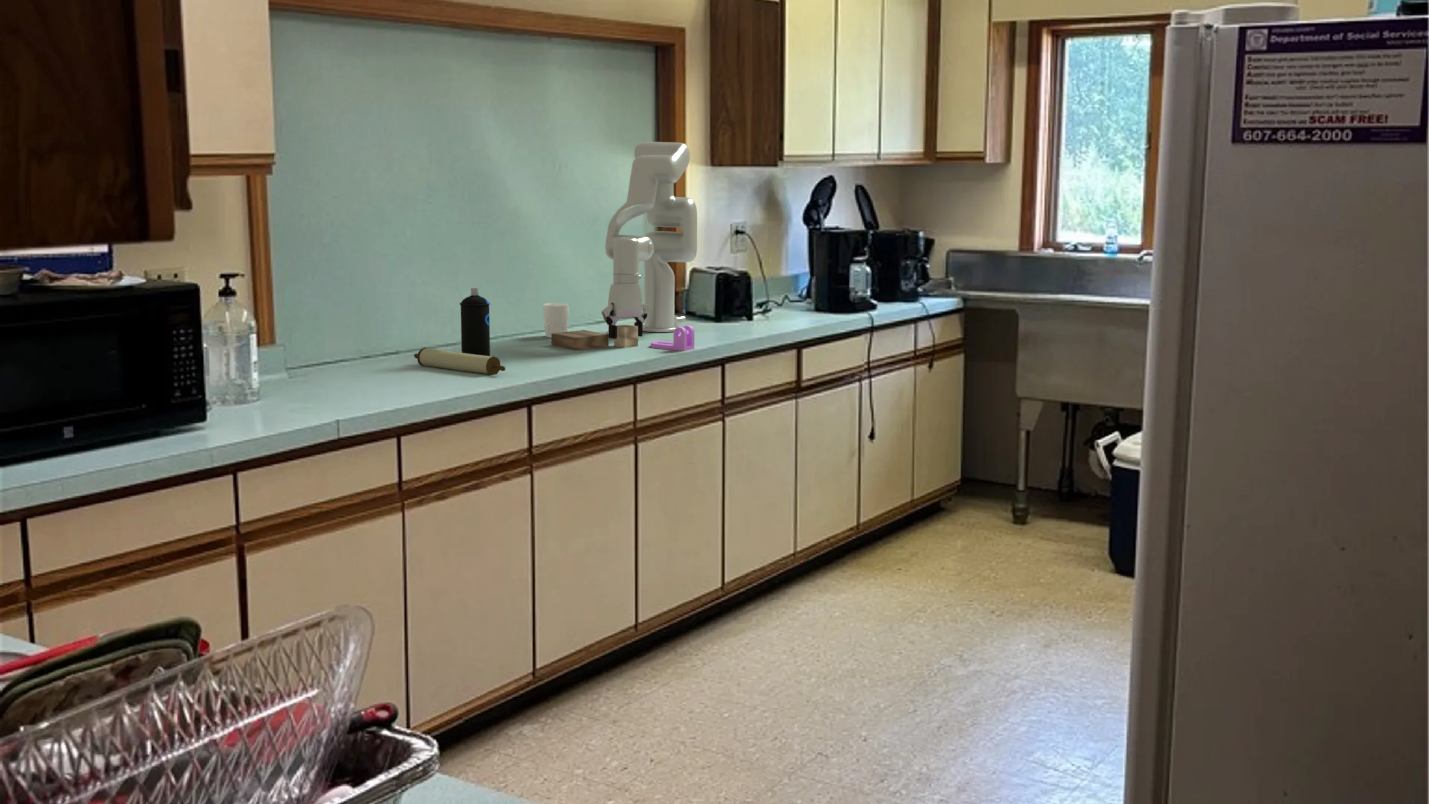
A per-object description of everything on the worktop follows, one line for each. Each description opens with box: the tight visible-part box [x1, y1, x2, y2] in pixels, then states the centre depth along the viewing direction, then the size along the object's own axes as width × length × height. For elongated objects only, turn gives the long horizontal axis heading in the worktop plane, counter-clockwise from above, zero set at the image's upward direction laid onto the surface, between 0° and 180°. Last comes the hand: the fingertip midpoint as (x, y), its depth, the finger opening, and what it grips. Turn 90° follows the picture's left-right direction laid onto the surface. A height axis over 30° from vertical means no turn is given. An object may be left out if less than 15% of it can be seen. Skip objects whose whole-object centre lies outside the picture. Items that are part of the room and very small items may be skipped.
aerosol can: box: [459, 287, 491, 356], centre depth 375 cm, size 8×8×20 cm
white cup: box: [542, 302, 570, 339], centre depth 423 cm, size 8×8×10 cm
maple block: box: [613, 324, 639, 349], centre depth 407 cm, size 5×5×6 cm
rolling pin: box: [413, 347, 506, 376], centre depth 361 cm, size 32×6×5 cm, turn 57°
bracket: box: [650, 325, 695, 352], centre depth 404 cm, size 13×6×7 cm, turn 59°
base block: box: [550, 329, 610, 351], centre depth 406 cm, size 12×12×4 cm
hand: (625, 337), depth 407 cm, fingers open, 9 cm apart
